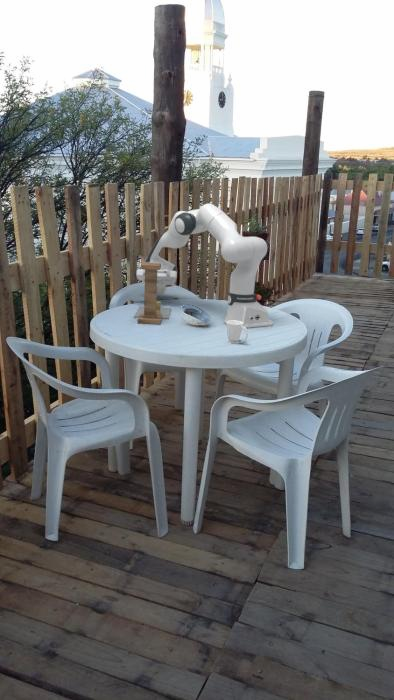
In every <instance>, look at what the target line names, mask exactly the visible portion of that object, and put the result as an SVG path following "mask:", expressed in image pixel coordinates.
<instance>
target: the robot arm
mask: <svg viewBox="0 0 394 700" xmlns="http://www.w3.org/2000/svg"><path fill="white" fill-rule="evenodd" d="M206 231H208V232H209V234H211V236H212V237H214V239H215V240H216V241H217V242H218V244H219V245H220V254H221V257H222V258H223V260H224V261H226V262H228V263H233V264H236V267H235V269H234V270H233V271H232V273H231V274H230V278H229V279H230V280H229V291H228V293H227V294H228V295H227V311H226V314H225V317H224V321H223V322H224V324H226V322H227V321H232V320H235V321H241V322H243V327H245V328H246V329H249V328H259V327H261V328H262V327H269V326H274V322H273V320H271V319H269V312H268V310H267V309H266V308H265V307H264V306H263V305H262V304H261V303H260V302H258V300H259V301H260V300H261V299H262V296H261V295H260V294H256V293H255V284H256V277H257V276H256V275H257V273H258V269H259V267H260V264H261V261H262V260H263V259H264V258H265V256H266V255H267V252H268V245H267V244H268V243H266V240H264V239H263V238H261V237H258V236H242V235H241V234H239V232H238V224H237V223H236V222H235V221H233V219H231V217H230V216H228V214H227V213H225V212H224V211H223V210H222V209H220V208H219V207H218V206H216V205H215V204H212V203H205V204H203V205H202V206H201V207H199V208H197V209H196V208H195V209H192V210H188V211H184V210H179V211H177V212H176V213H175V214H174V215H173V217H172V219H171V222H170V224H169V226H168V229H167V231H165V232H162V233H160V234H159V236H158V237H157V238H156V241H155V242H154V244H153V246H152V248H151V250H150V251H149V253H148V255H147V256H146V258H145V259H144V261H143V262H151V263H161V269H160V270H157V296H162V295H164V294H165V293H166V292H167V289H168V287H169V288H170V287H174V286H175V283H176V282H177V278H178V268H177V267H178V266H177V265H176V264H174V263H171V262H170V261H168V260H166V259H164V258H162V257H160V255H159V253H160V252H161V250H162V248H169V249H179V248H183V247H184V246H186V244H187V243H188V241H189V238H190V236H191V235H194V234H195V235H196V234H200V233H204V232H206ZM135 275H136V278H137V279H138V281H142V282H143V281H144V282H145V269H141V268H138V269H136V274H135Z"/></svg>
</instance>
